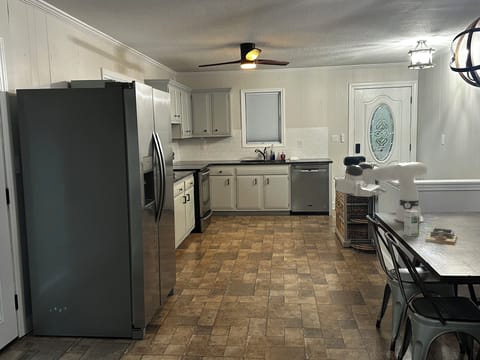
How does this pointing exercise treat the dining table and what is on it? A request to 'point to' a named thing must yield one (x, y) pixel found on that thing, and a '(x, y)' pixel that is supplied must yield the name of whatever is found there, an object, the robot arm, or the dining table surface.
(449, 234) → the socket board
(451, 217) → the dining table surface
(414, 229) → the syrup box
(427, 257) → the dining table surface
